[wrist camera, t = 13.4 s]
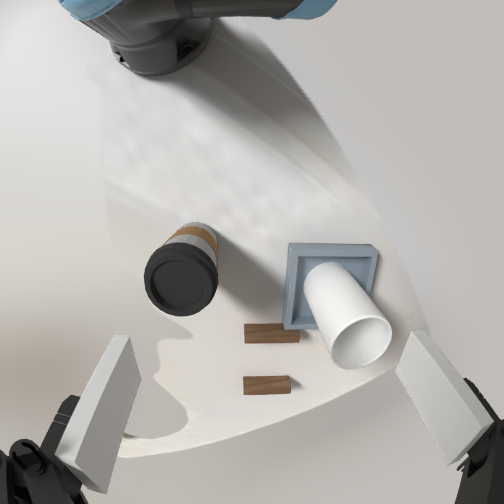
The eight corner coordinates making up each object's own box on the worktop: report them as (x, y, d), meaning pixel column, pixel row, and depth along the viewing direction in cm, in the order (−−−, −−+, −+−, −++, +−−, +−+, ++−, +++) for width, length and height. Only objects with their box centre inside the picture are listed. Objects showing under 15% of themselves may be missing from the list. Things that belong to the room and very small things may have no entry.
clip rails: (244, 323, 48) (244, 337, 45) (295, 323, 49) (299, 336, 45) (243, 380, 53) (243, 394, 50) (287, 379, 54) (290, 393, 50)
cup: (359, 277, 46) (403, 332, 31) (329, 313, 48) (360, 376, 33) (324, 252, 44) (363, 304, 29) (293, 292, 46) (315, 356, 31)
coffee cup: (211, 274, 45) (201, 330, 31) (163, 254, 43) (132, 303, 29) (232, 227, 42) (229, 268, 28) (181, 206, 41) (152, 236, 27)
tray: (288, 242, 44) (292, 249, 41) (370, 244, 44) (378, 250, 42) (282, 319, 49) (284, 329, 46) (356, 316, 49) (362, 325, 46)
